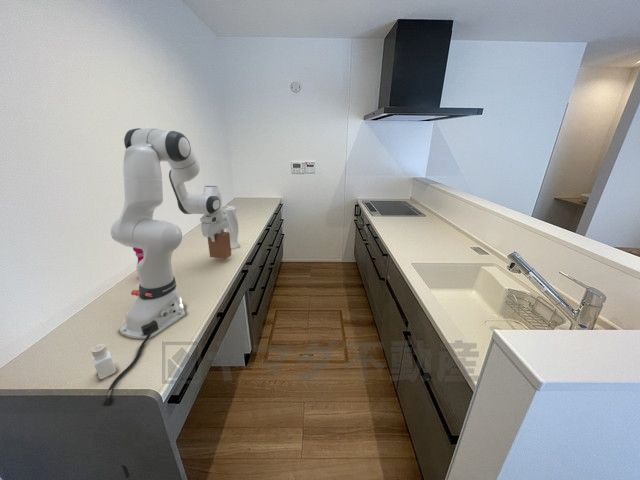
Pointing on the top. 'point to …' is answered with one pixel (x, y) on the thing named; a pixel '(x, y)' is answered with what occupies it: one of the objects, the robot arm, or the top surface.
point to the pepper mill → (139, 254)
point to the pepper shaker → (103, 361)
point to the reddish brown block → (220, 245)
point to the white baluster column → (232, 226)
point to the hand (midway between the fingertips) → (217, 239)
